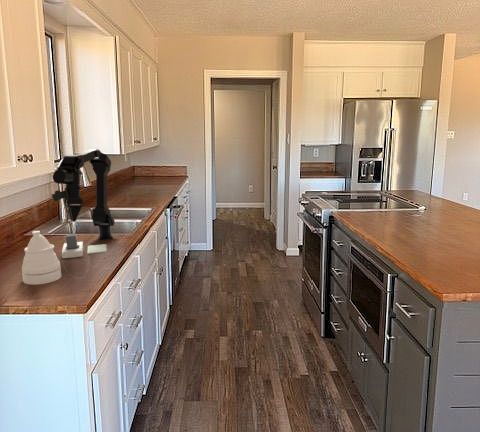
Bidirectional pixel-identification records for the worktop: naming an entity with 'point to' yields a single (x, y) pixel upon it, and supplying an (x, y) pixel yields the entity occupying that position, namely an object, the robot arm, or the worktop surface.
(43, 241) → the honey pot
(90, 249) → the green pad
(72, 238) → the grey rectangular block
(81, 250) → the cream window plate
